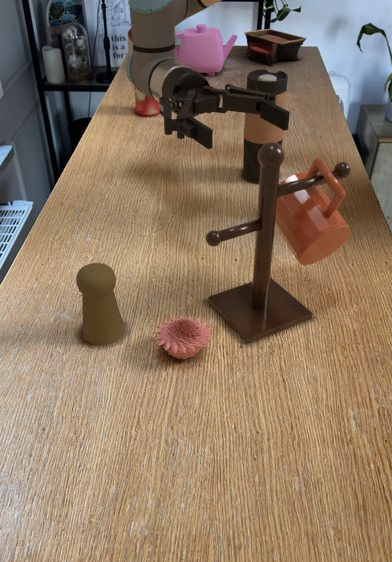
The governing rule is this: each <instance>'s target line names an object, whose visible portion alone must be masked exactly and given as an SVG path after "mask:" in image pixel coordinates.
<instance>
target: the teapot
mask: <svg viewBox="0 0 392 562" xmlns="http://www.w3.org/2000/svg"><path fill="white" fill-rule="evenodd" d="M238 36H239V35H237V34H231V37H230V38H229V39H228V41H227V42H226V43H225V45H224V42H223V38H222V34H221V31H220V29H219V28H215V27H213V28H212V27H208V26H207V24H204V23H198V24H196V26H195V27H188V28H185V29H184V31H183V32H175V39H177V40H180V44H179V47H178V48H177V47H176V46H175V59H177V60H178V62H179V63H181V64H183V65H185V66H188V67H190V68H191V69H193V70H195V71H197V72H199V73H201V74H205V73H206V75H207V76H209V77H211V76H215V75H216V73H219V72H221V70H222V69H223V66H224V64H225V61H226V59H227V57H228V56H229V54H230V53H231V50H232V48H233V47H234V45H235V43H236V41H237V39H238Z"/></svg>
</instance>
